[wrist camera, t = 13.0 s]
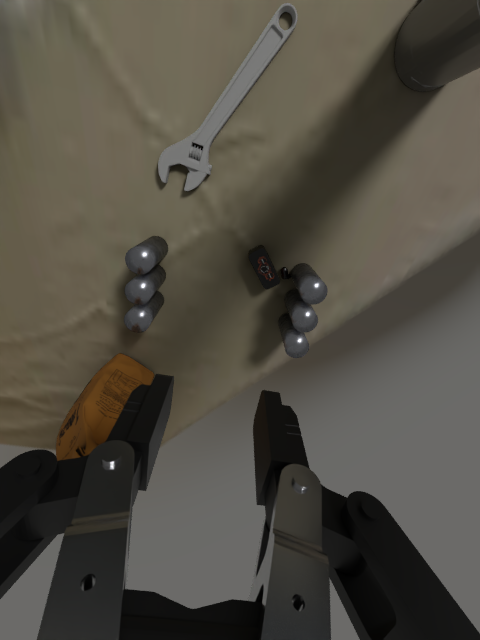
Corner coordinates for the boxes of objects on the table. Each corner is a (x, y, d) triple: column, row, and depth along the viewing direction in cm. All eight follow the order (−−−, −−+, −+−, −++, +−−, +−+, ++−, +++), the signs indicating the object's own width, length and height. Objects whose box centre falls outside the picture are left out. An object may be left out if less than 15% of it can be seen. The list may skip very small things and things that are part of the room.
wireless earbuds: (266, 288, 50) (267, 294, 47) (246, 250, 47) (247, 255, 44) (291, 276, 49) (294, 281, 46) (273, 237, 46) (275, 240, 43)
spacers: (146, 234, 46) (125, 244, 38) (315, 265, 48) (330, 282, 40) (142, 306, 51) (123, 330, 43) (295, 332, 53) (305, 359, 45)
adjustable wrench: (284, 2, 35) (287, -7, 33) (317, 52, 37) (321, 46, 35) (153, 167, 42) (150, 167, 41) (187, 201, 44) (185, 202, 43)
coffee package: (83, 381, 58) (1, 485, 38) (121, 344, 54) (52, 437, 34) (124, 409, 61) (67, 519, 41) (162, 376, 57) (120, 478, 37)
